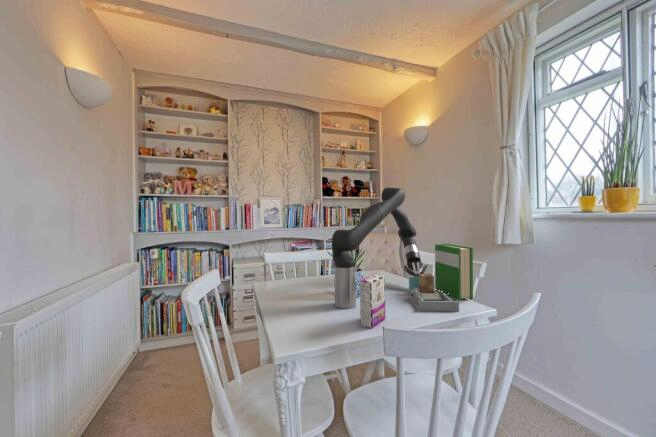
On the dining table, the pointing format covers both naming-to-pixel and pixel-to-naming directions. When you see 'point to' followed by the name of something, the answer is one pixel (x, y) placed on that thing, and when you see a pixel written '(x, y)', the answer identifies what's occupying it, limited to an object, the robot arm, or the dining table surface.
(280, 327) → the dining table surface
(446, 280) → the hardback book
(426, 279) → the walnut block
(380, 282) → the candy bar box
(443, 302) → the dock
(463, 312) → the dining table surface
